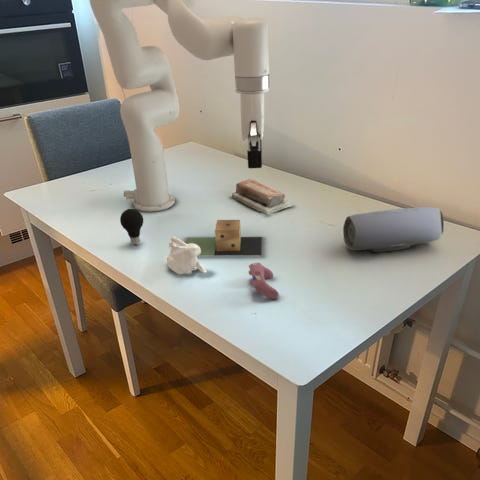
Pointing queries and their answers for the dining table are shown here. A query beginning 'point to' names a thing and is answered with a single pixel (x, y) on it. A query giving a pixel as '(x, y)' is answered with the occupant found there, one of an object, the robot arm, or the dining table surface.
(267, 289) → the video game controller
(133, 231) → the light bulb
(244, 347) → the dining table surface
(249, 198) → the packaged product
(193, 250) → the rabbit figurine
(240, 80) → the robot arm
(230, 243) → the die
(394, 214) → the bluetooth speaker
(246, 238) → the dice mat
